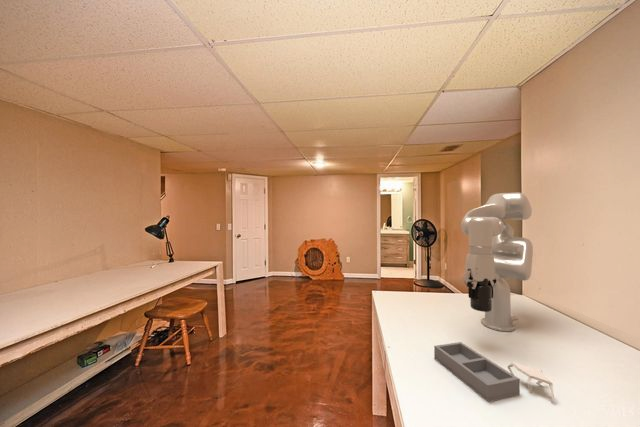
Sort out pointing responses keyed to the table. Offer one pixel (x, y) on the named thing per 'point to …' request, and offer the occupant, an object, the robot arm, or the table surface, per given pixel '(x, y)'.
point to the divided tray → (477, 371)
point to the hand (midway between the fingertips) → (480, 297)
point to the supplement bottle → (482, 297)
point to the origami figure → (533, 376)
